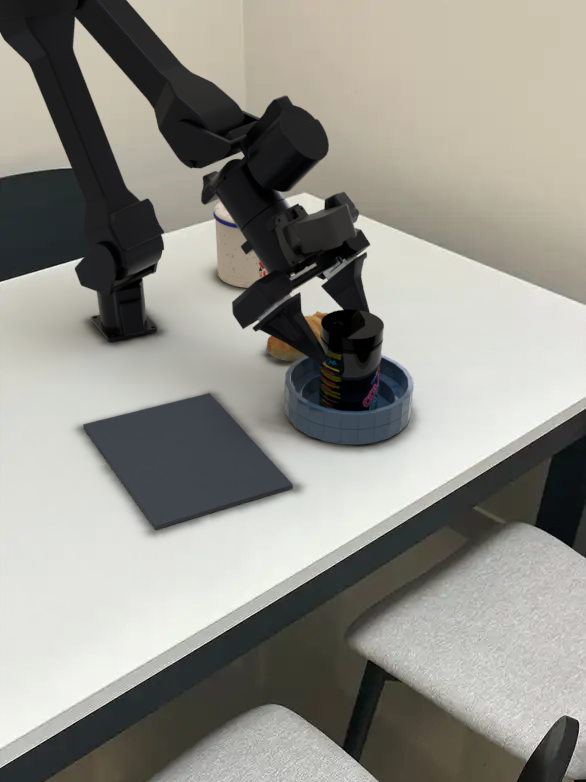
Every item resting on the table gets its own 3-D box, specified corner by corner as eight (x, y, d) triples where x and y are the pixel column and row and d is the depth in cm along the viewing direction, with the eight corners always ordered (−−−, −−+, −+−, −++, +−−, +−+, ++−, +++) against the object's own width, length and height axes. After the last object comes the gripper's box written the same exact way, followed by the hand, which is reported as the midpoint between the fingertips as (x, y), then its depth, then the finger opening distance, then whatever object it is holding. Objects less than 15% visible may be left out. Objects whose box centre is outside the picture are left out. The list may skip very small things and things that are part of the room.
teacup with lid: (271, 293, 130) (271, 206, 122) (207, 284, 131) (202, 196, 123) (294, 258, 139) (295, 174, 131) (233, 250, 140) (231, 166, 132)
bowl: (263, 397, 111) (262, 364, 108) (367, 370, 116) (370, 338, 113) (324, 460, 102) (325, 426, 99) (433, 428, 108) (438, 395, 105)
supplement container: (359, 432, 106) (365, 345, 98) (306, 414, 108) (309, 327, 101) (387, 405, 110) (395, 319, 103) (336, 388, 112) (339, 303, 105)
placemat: (83, 428, 104) (82, 424, 104) (209, 396, 110) (209, 392, 110) (155, 529, 92) (155, 525, 92) (292, 488, 98) (292, 484, 98)
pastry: (286, 371, 115) (286, 342, 112) (254, 349, 119) (253, 320, 116) (347, 350, 120) (348, 322, 117) (314, 329, 123) (315, 301, 121)
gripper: (252, 198, 88) (348, 344, 92) (359, 147, 100) (440, 278, 104) (191, 260, 96) (281, 392, 100) (297, 206, 108) (374, 326, 112)
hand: (347, 344), depth 104 cm, fingers open, 9 cm apart
